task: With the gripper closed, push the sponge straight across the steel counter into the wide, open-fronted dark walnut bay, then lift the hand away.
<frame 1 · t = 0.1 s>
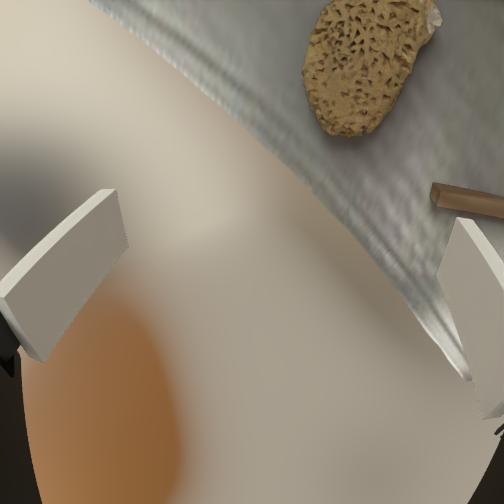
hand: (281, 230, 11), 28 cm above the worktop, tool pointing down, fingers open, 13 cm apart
sponge: (364, 51, 29), on the worktop
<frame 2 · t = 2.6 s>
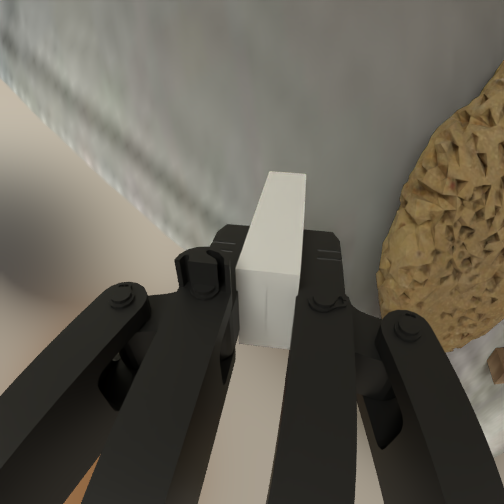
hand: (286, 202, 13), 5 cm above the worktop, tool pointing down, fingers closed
sponge: (475, 193, 16), on the worktop
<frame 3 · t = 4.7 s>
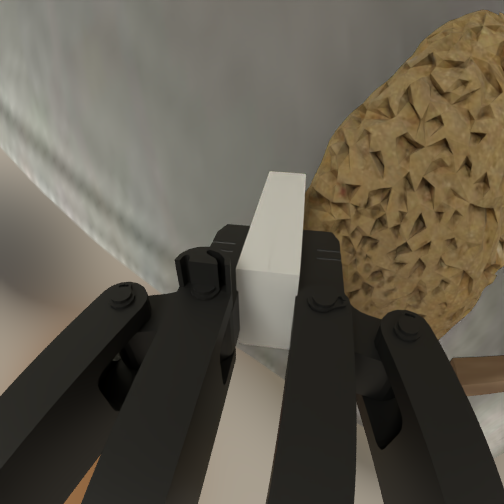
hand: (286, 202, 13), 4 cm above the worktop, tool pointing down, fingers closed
sponge: (411, 195, 16), on the worktop, touching gripper
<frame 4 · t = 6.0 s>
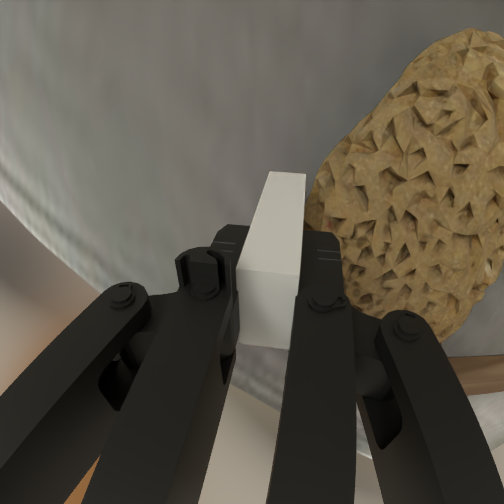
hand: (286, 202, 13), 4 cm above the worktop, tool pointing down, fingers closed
sponge: (402, 214, 17), on the worktop, touching gripper
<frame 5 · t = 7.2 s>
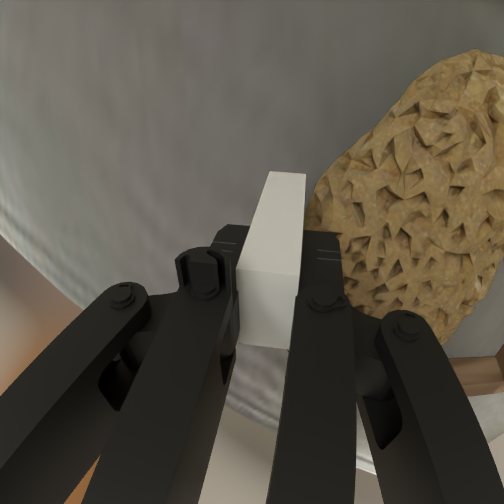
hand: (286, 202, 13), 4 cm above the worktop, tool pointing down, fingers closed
walnut bay: (486, 195, 15), on the worktop
sponge: (397, 226, 18), on the worktop
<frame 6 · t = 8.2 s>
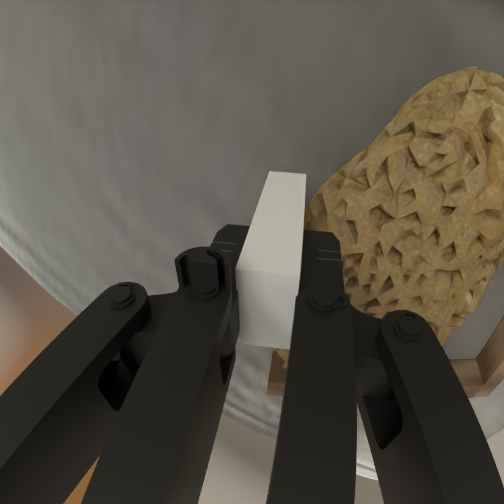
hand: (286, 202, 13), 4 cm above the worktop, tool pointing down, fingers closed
walnut bay: (455, 192, 15), on the worktop
sponge: (391, 238, 18), on the worktop
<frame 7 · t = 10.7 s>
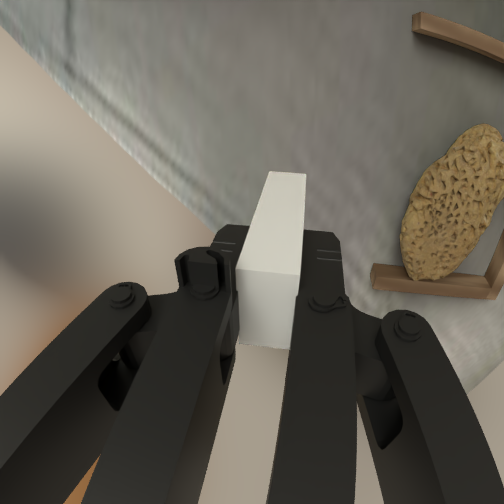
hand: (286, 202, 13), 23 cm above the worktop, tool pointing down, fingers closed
walnut bay: (468, 171, 31), on the worktop
sponge: (446, 197, 34), on the worktop
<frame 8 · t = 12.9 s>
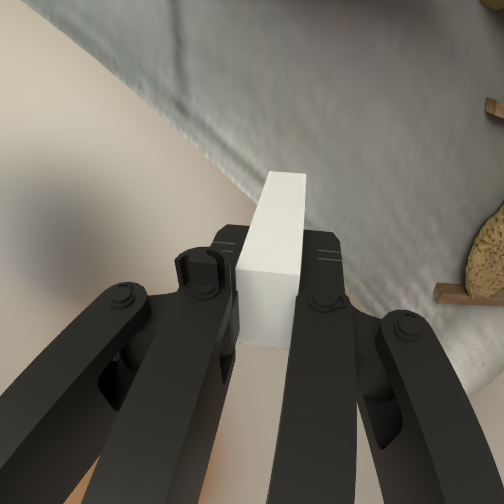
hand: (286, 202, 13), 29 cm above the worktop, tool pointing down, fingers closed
sponge: (496, 236, 41), on the worktop
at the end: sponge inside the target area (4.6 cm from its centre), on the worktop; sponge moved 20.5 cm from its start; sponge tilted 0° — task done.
